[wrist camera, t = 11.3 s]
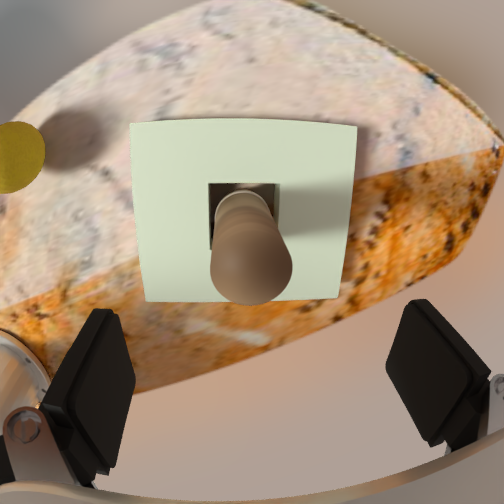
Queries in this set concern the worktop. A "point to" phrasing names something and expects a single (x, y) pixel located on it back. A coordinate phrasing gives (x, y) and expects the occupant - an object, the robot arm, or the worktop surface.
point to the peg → (248, 250)
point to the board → (240, 171)
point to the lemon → (19, 155)
